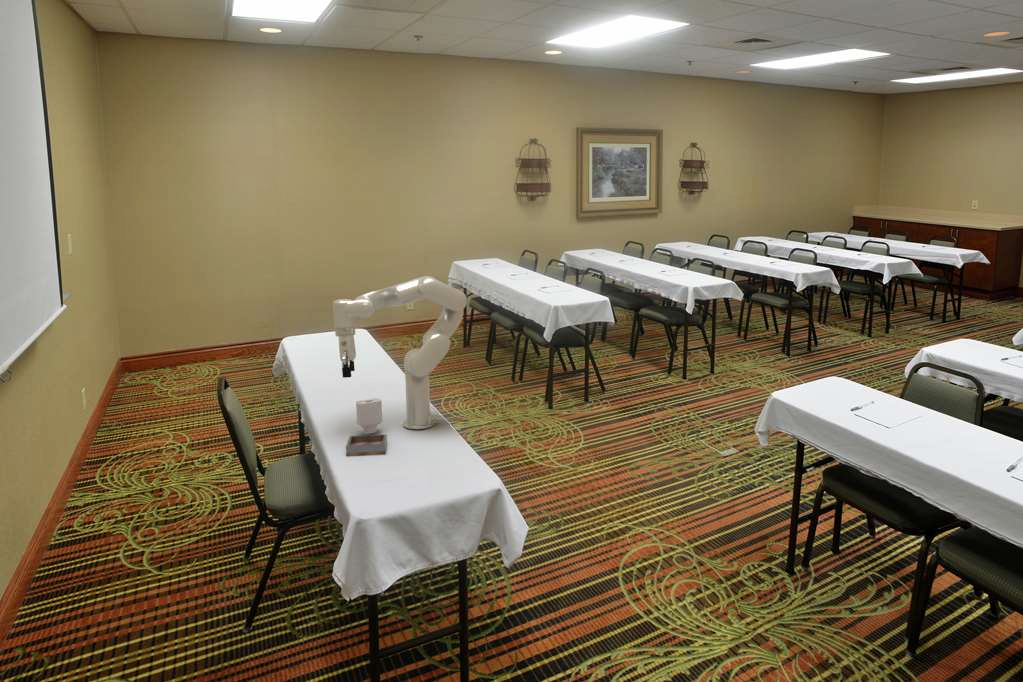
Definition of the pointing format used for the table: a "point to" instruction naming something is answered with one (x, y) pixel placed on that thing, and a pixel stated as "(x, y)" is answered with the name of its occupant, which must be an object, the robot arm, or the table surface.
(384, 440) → the tray
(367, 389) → the table surface
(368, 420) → the charger
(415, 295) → the robot arm
